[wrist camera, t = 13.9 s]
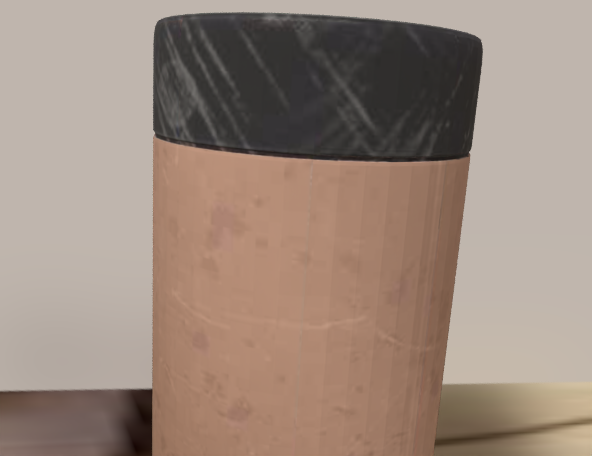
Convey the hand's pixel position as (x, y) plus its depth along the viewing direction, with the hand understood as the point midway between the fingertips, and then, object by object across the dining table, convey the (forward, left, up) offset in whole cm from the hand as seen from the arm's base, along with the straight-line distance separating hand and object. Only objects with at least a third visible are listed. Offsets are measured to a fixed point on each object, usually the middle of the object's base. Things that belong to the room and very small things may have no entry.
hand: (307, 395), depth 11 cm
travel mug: (0, +4, -13) cm, 13 cm away
